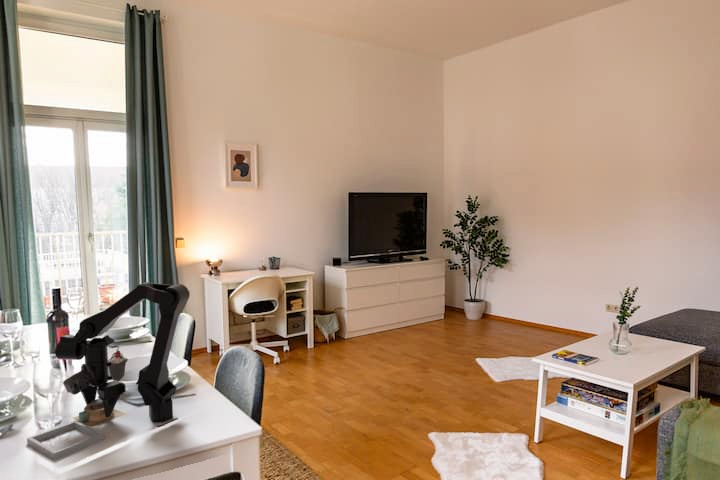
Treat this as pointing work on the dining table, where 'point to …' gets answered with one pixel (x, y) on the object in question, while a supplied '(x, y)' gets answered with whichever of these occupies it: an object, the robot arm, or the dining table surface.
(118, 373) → the sundae
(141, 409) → the dining table surface
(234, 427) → the dining table surface
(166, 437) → the dining table surface
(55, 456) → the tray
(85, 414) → the ring
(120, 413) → the wooden peg base
